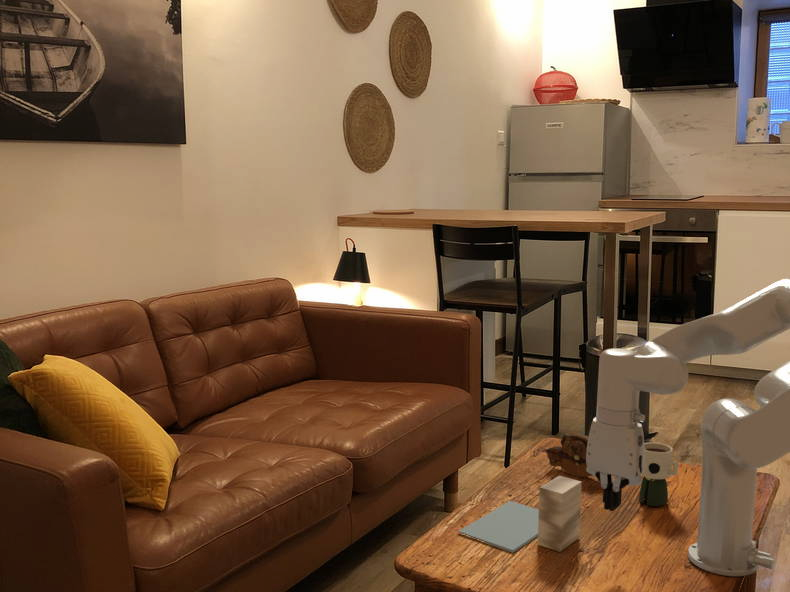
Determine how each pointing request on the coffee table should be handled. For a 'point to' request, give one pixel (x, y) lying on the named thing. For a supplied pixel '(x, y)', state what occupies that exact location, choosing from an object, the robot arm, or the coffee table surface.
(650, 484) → the character mug
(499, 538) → the grey mat
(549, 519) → the birch block
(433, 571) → the coffee table surface
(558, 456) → the wooden carving
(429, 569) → the coffee table surface
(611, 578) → the coffee table surface
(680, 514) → the coffee table surface
